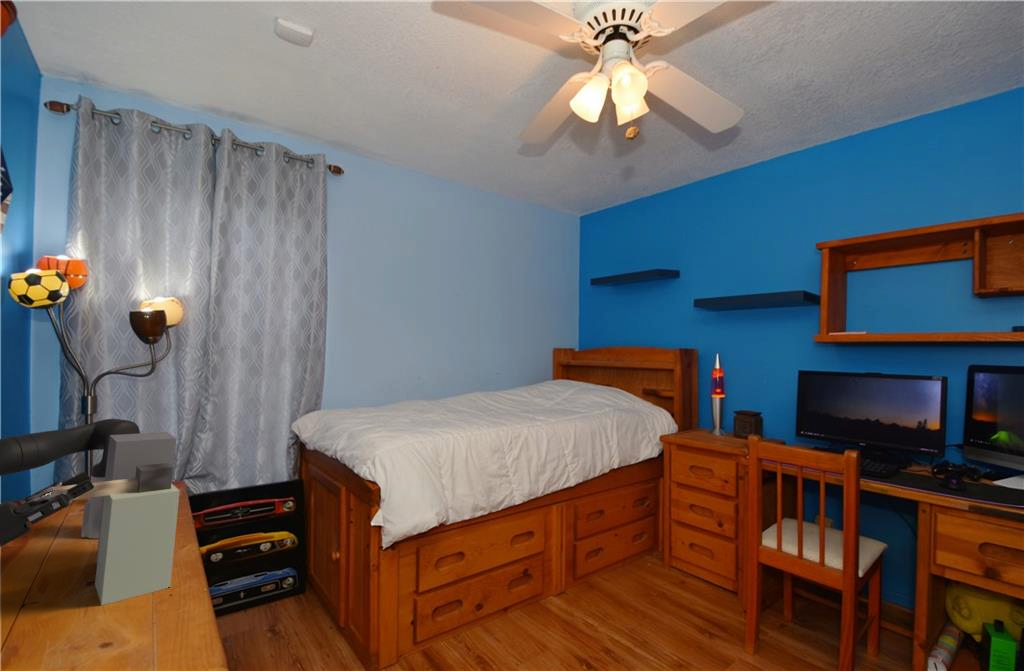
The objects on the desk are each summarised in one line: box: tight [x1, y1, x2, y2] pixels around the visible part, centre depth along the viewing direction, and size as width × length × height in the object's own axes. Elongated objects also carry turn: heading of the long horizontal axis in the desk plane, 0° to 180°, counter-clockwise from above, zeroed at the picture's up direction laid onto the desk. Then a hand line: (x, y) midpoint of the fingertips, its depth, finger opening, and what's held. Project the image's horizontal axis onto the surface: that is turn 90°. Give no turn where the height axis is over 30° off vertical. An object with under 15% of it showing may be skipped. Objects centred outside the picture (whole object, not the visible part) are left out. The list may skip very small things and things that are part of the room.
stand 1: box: [95, 431, 177, 564], centre depth 118 cm, size 12×12×32 cm
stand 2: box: [94, 482, 181, 606], centre depth 107 cm, size 12×12×22 cm
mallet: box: [52, 463, 174, 501], centre depth 104 cm, size 20×6×5 cm, turn 137°
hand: (89, 479), depth 101 cm, fingers open, 8 cm apart
